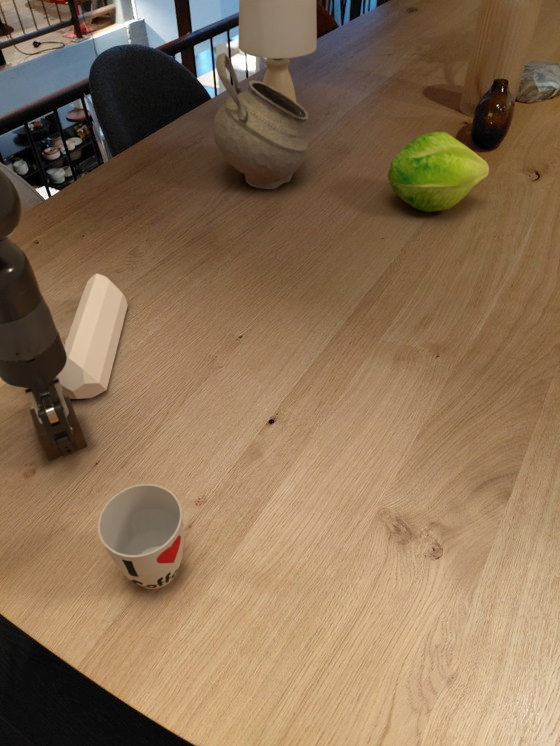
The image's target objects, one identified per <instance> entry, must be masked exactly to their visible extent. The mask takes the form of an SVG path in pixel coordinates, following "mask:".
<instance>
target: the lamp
mask: <svg viewBox="0 0 560 746" xmlns="http://www.w3.org/2000/svg"><path fill="white" fill-rule="evenodd" d="M317 17H318V16H317V0H238V49H239V51H240V52H242V53H243V54H246V55H248V56H253V57H256V58H261V59H263V58H264V59H265V61H264V63H265V65H266V66H267V69H266V71H265V73H264V76H263V79H262V82H263V83H265V84H266V85H267V86H272V87H273V88H275V89H277V90H278V91H280V92H281V93H283V94H284V95H286V96H288V97H289V98H291V99H293V100H295V101H296V102H297V96H296V91H295V86H294V82H293V79H292V76H291V73H290V71H289V68H288V67H289V65H290V64H291V60H290V59H294V58H300V57H301V58H302V57H304V56H308V55H311V54H313V53H315V52H316V51H317V48H318V29H317V28H318V26H317V25H318V23H317Z"/></svg>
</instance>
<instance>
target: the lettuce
mask: <svg viewBox="0 0 560 746" xmlns="http://www.w3.org/2000/svg"><path fill="white" fill-rule="evenodd" d="M489 174H490V167H489V164H488V163H487V161H486V160H484V159H483V158H482V157H481V156H479V155H478V154H477V153H476V152H474V151H473V150H472V149H470V148H469V147H468V146H467V145H465V144H464V143H462V142H461V141H459V140H458V139H457V138H455V137H453V136H452V135H450V134H449V133H448V132H446V131H432V132H429V133H423V134H421V135H420V136H418V137H416V138H414V139H412V140H411V141H410V142H409V143H407V144H406V145H405V146H403V147H402V148H401V149H400V150H399V152H398V153H397V154H396V155H395V156H394V158H393V159H392V161H391V163H390V167H389V170H388V173H387V179H388V183H389V184H390V186H391V188H392V191H393V192H394V193H395V194H396V195H397V196H398V197H399V198H400V199H401V200H402V201H403V202H405V203H406V204H408V205H410V206H411V207H413V208H414V209H416V210H418V211H419V210H420V211H423V212H425V213H432V212H439V211H445V210H447V211H448V210H449V209H451V208H453V207H454V206H455V205H456V204H458V203H459V202H461V201H462V200H463V199H464V198H465V197H466V196H467V195H468V194H470V193H469V192H471V190H472V189H473V187H475V186H476V185H477V184H479V183H480V182H482V181H483V180H484V179H486V178H487V177H488V176H489Z"/></svg>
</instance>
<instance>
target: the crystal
mask: <svg viewBox="0 0 560 746" xmlns="http://www.w3.org/2000/svg"><path fill="white" fill-rule="evenodd" d="M127 310H128V301H127V298H126V296H125V295H124V293H123V292H122V291H121V290H120V289H119V288H118V287H117V285H116V284H114V283H113V282H112V281H111V280H110V278H108V277H107V276H106V275H103V274H100V273H97V272H96V273H95V274H93V275H91V276H90V278H89V279H88V280H87V282H86V285H85V287H84V289H83V292H82V294H81V297H80V300H79V303H78V306H77V309H76V312H75V314H74V317H73V320H72V323H71V325H70V329H69V332H68V334H67V337H66V340H65V343H64V348H65V351H66V354H67V360H66V364H65V366H64V368H63V370H62V371H61V372H60V373H59V374H58V375H57V376H56V377H57V378H59V381H60V383H61V386H62V389H63V391H62V395H63V397H64V398H65V397H69V398H70V400H71V399H72V400H81V399H93V398H94V397H97V396H98V395H100V394H103V393H104V392H106V391H107V390H108V385H109V383H110V379H111V374H112V371H113V366H114V362H115V359H116V354H117V350H118V345H119V343H120V338H121V334H122V331H123V325H124V322H125V319H126V314H127Z"/></svg>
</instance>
